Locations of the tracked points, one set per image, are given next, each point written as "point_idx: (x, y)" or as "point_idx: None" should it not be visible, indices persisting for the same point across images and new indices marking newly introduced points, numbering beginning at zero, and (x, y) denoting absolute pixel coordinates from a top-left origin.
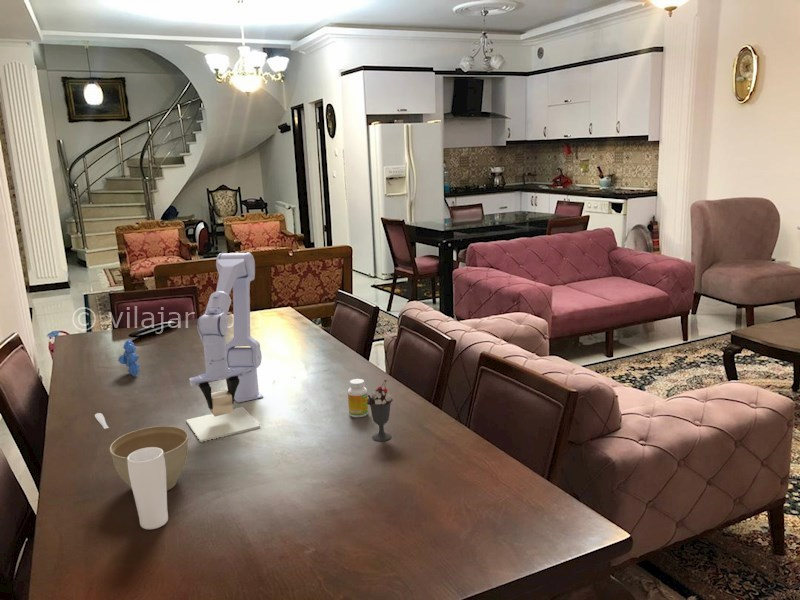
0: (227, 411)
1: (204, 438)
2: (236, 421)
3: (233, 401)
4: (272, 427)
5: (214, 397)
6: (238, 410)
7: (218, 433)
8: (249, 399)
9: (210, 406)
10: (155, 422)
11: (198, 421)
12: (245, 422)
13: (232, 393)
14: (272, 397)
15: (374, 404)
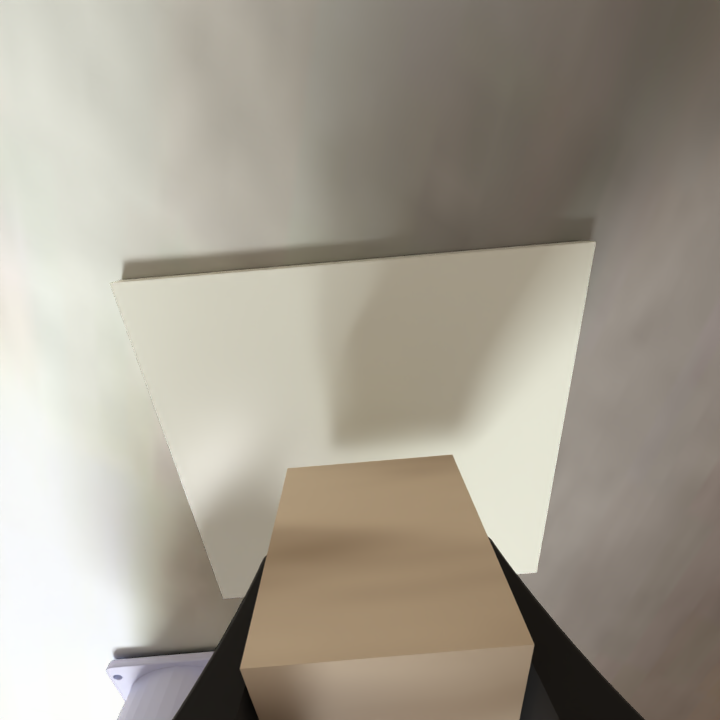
0: (337, 479)
1: (557, 260)
2: (282, 437)
3: (252, 582)
4: (21, 236)
5: (493, 676)
6: (251, 569)
7: (439, 301)
8: (181, 658)
9: (502, 562)
10: (647, 606)
11: (490, 530)
12: (224, 394)
13: (222, 702)
14: (62, 644)
15: None
